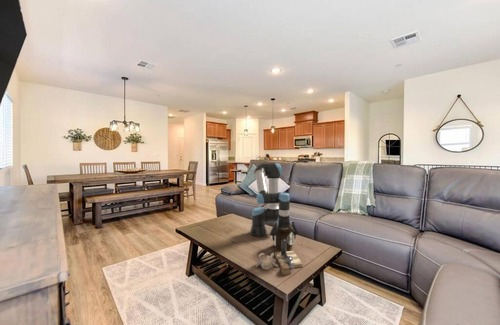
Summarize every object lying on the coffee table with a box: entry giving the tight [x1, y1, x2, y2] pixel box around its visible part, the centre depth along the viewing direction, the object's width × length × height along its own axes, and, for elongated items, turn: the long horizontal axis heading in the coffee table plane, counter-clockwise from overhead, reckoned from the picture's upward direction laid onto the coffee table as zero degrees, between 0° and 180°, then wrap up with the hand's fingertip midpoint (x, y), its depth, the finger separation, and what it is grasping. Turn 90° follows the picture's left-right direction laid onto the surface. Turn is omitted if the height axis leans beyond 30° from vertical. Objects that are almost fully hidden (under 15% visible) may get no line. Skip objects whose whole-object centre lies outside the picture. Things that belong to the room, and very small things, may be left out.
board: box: [274, 250, 304, 269], centre depth 151 cm, size 20×14×2 cm
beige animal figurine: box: [255, 252, 279, 270], centre depth 145 cm, size 16×10×10 cm, turn 131°
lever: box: [281, 239, 295, 269], centre depth 147 cm, size 19×4×11 cm, turn 8°
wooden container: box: [272, 223, 294, 252], centre depth 170 cm, size 15×15×22 cm
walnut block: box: [280, 263, 290, 276], centre depth 138 cm, size 4×4×4 cm
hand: (283, 244), depth 154 cm, fingers open, 13 cm apart
